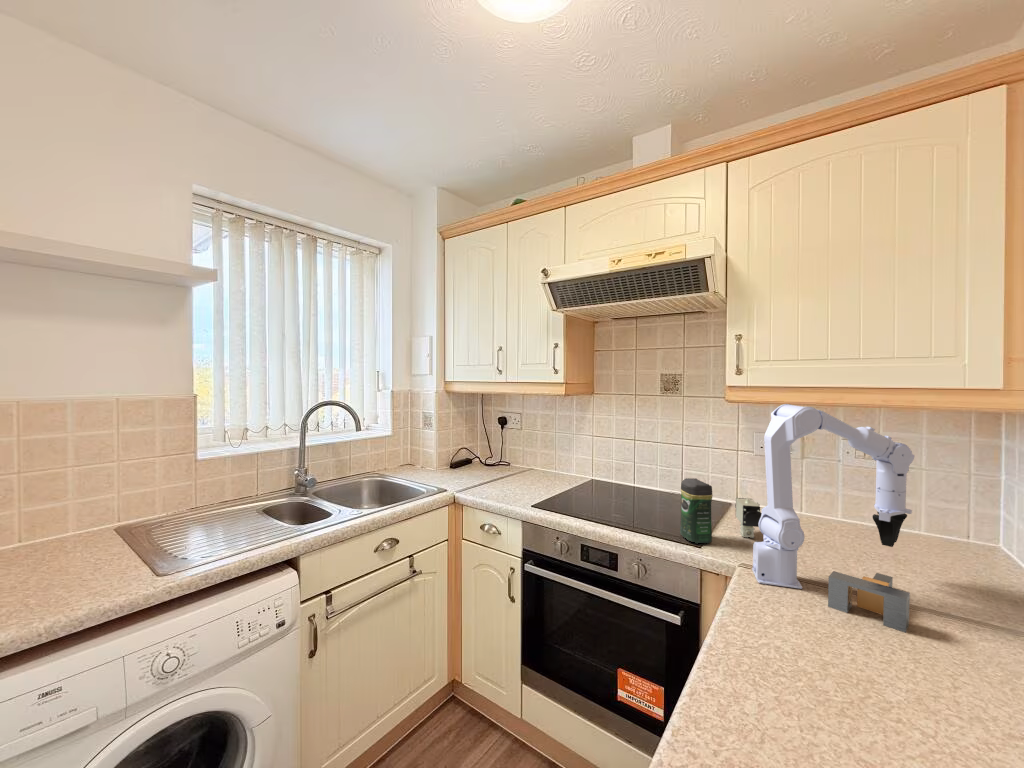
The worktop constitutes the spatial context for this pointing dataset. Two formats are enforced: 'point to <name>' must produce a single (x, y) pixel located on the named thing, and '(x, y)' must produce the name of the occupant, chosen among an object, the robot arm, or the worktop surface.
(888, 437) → the robot arm
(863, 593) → the plug
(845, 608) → the grey arch bracket
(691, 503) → the coffee jar
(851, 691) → the worktop surface
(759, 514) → the pneumatic valve
